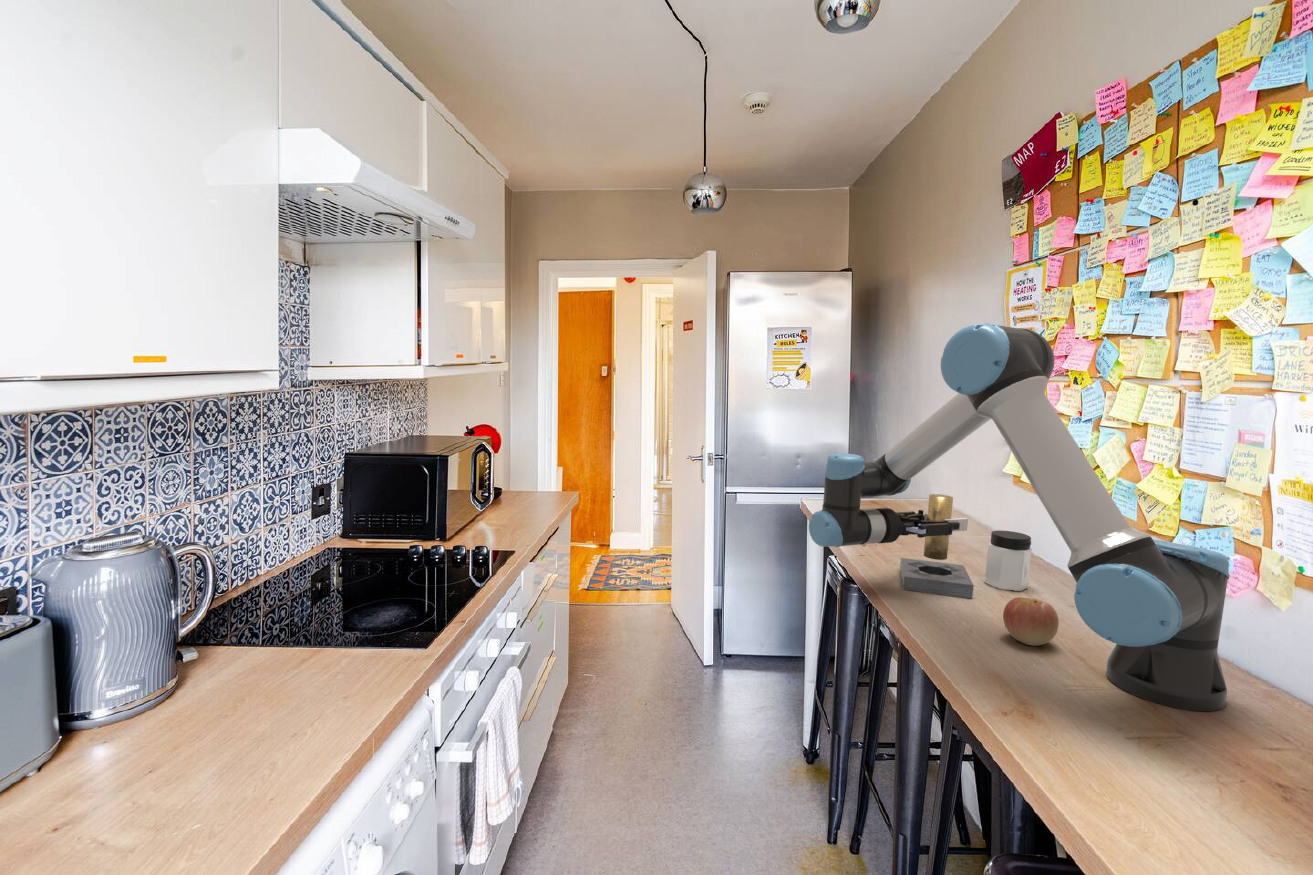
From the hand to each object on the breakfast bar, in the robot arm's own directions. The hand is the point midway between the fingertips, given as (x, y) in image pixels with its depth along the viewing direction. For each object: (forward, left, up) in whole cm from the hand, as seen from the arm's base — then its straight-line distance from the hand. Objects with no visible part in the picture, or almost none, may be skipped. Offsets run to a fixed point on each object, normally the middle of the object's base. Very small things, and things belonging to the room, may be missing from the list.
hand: (956, 521), depth 156 cm
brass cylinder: (-3, +4, -8) cm, 10 cm away
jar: (+3, -12, -14) cm, 19 cm away
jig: (-3, +4, -14) cm, 15 cm away
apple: (-33, -9, -14) cm, 37 cm away
